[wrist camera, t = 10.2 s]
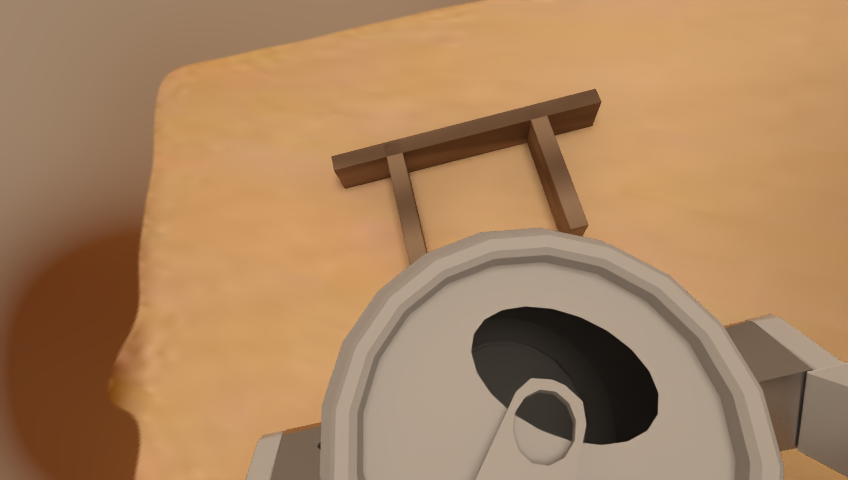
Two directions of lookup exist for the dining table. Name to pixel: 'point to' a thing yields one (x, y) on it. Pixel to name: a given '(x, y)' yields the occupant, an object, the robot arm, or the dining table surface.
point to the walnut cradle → (476, 139)
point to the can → (541, 373)
